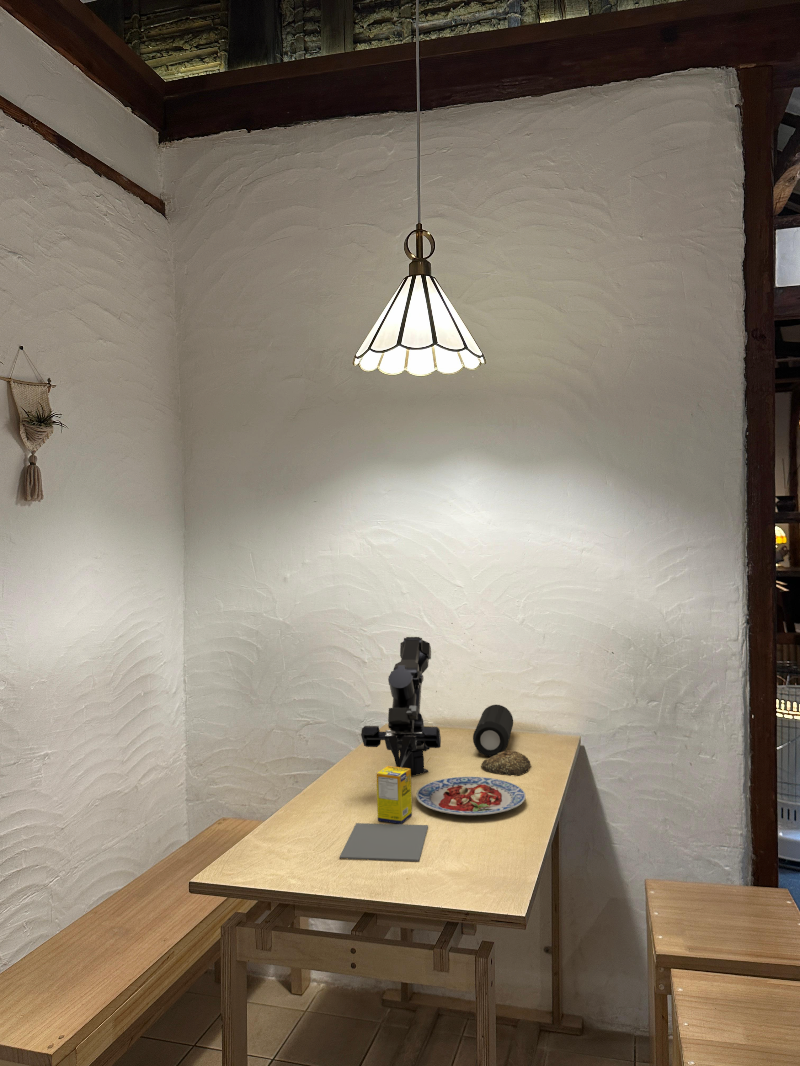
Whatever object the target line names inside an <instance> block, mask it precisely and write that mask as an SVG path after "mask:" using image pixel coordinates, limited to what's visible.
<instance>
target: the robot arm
mask: <svg viewBox="0 0 800 1066" xmlns="http://www.w3.org/2000/svg"><path fill="white" fill-rule="evenodd" d="M399 644H400V649H399V652H400V653H399V656H400V658H401V659H400V661H399V662H397V663H395V664H394V667H393V669H392V671H391V672H390V674H389V675H388V685H389V690H390V693H391V697H392V706H391V707H389V708H388V713H387V714H388V716H387V717H388V718H387V722H388V725H387V727H388V729H389V730H388V729H386V730H385V731H380V727H379V725H364V726H363V727H362V728H361V732H360V736H361V739H362V743H363V746H364V747H366V748H378V747H379V746H380V745H381V742H382V741H384V743H385V747H386V749H387V750H388V751H391V753H392V756H393V759H394V763H395V767H401V768H409V769H411V777H414V776H418V775H421V774H425V773H428V772H429V769H426V768H425V757H424V752H427V751H428V750H430V749H439V748H441V742H442V741H441V740H442V738H441V732H440V728H439V727H438V726H426V725H425V723H424V718H423V716H422V714H421V712H420V711H421V698H422V684H423V681H424V673H425V671H426V670H427V669H428V668H429V661H430V660H431V659H432V647H431V644H430V642H428V641H425V640H423V637H420V636H406V637H403V641H401V642H400V643H399Z"/></svg>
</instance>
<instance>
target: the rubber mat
mask: <svg viewBox="0 0 800 1066" xmlns="http://www.w3.org/2000/svg"><path fill="white" fill-rule="evenodd" d="M428 828H429V824H403V823H402V824H397V823H370V822H369V823H366V822H356V823H355V825H354V827H353V829H352V831H351V832H350V835H349V837H348V839H347V840H346V842H345V844H344V847H343V849H342V851H341V853H340V855H339V856H338V857H339V858H348V859H347V860H357V859H366V861H388V862H389V861H392V862H394V861H395V862H420V860H421V857H422V853H423V848H424V845H425V840H426V837H427V833H428V830H429V829H428ZM367 859H369V860H367Z"/></svg>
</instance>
